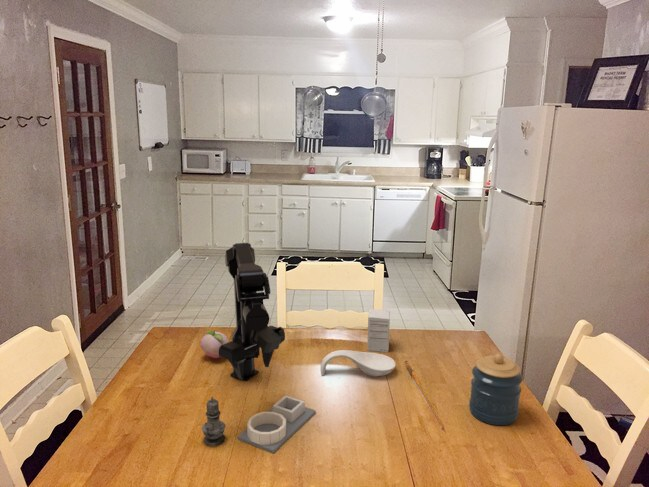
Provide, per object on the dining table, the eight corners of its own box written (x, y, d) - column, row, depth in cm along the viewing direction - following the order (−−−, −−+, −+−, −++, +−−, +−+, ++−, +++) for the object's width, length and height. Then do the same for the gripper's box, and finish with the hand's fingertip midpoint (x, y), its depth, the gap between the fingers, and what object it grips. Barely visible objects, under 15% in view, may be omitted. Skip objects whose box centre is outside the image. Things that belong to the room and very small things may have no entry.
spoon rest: (391, 362, 173) (392, 342, 171) (398, 381, 162) (399, 359, 160) (319, 364, 171) (319, 344, 169) (322, 383, 160) (322, 361, 158)
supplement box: (367, 341, 188) (369, 308, 184) (388, 343, 187) (390, 310, 183) (366, 351, 180) (367, 316, 177) (388, 352, 179) (389, 318, 176)
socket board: (282, 401, 149) (282, 389, 148) (315, 413, 144) (315, 400, 143) (237, 439, 132) (237, 425, 131) (273, 453, 127) (273, 439, 126)
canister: (517, 405, 149) (524, 347, 144) (518, 430, 137) (525, 369, 132) (470, 396, 153) (475, 340, 148) (466, 421, 141) (472, 361, 136)
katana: (440, 434, 137) (440, 425, 136) (403, 365, 170) (404, 358, 169) (445, 434, 137) (445, 425, 136) (408, 365, 170) (408, 358, 170)
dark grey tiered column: (220, 448, 129) (218, 404, 126) (198, 445, 130) (195, 401, 127) (229, 434, 134) (227, 392, 131) (208, 431, 135) (205, 389, 132)
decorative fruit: (235, 356, 175) (234, 329, 173) (217, 366, 169) (216, 337, 166) (214, 349, 180) (213, 322, 178) (196, 359, 174) (195, 331, 171)
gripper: (246, 335, 123) (248, 395, 127) (299, 313, 138) (300, 369, 141) (215, 324, 130) (218, 382, 134) (269, 305, 144) (270, 358, 148)
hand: (254, 372), depth 139 cm, fingers open, 9 cm apart
